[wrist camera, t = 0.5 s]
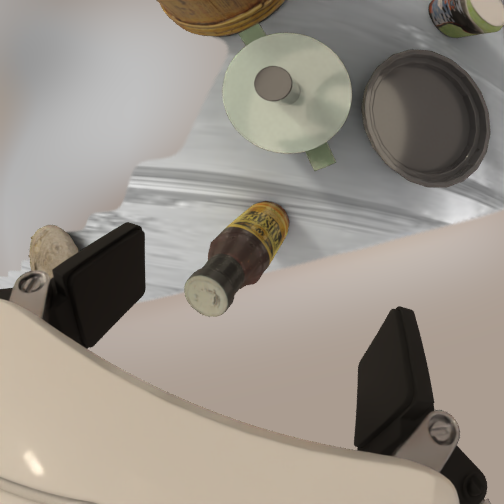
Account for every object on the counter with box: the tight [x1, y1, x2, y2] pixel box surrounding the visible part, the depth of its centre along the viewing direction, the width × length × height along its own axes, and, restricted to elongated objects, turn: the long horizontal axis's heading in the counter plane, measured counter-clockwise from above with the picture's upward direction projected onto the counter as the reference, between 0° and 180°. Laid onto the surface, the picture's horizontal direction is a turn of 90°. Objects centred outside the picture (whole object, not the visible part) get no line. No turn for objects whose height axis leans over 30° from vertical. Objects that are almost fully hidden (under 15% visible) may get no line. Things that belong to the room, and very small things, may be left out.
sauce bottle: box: [184, 201, 289, 317], centre depth 31 cm, size 7×6×20 cm
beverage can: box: [429, 0, 504, 38], centre depth 15 cm, size 6×7×12 cm
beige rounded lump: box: [29, 225, 79, 279], centre depth 52 cm, size 18×18×10 cm
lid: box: [222, 33, 352, 154], centre depth 22 cm, size 13×13×7 cm
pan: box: [361, 49, 490, 187], centre depth 26 cm, size 16×16×4 cm
